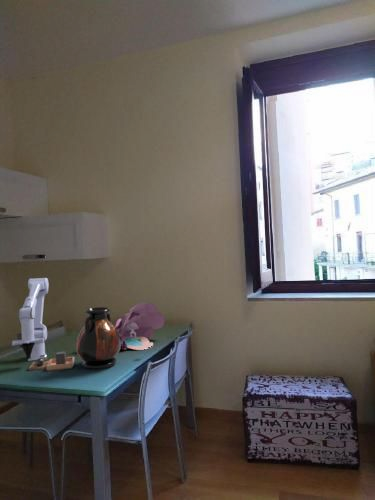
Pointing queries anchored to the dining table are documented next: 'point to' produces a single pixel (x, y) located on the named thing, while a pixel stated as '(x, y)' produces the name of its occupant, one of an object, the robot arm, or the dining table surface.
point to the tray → (53, 366)
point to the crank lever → (41, 360)
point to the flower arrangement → (139, 326)
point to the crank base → (35, 367)
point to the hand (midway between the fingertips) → (28, 358)
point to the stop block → (60, 358)
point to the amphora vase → (98, 340)
